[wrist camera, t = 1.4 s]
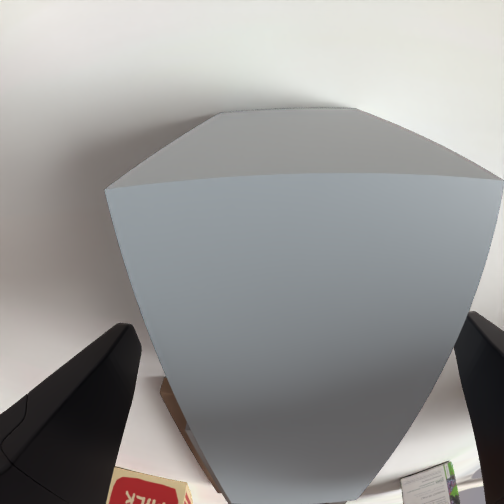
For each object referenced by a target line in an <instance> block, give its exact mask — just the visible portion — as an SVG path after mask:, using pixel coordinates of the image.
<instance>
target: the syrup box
mask: <svg viewBox="0 0 504 504" xmlns="http://www.w3.org/2000/svg"><path fill="white" fill-rule="evenodd" d="M400 482H401V489H402V497H403V504H460V500H459V494H458V489H457V484H456V479H455V474H454V470H453V465H452V462H450V461H449V462H447V463H444V464H441V465H439V466H436V467H434V468H431V469H428V470H425V471H423V472H420V473H417V474H414V475H412V476H409V477H405V478H402V479H400Z"/></svg>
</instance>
